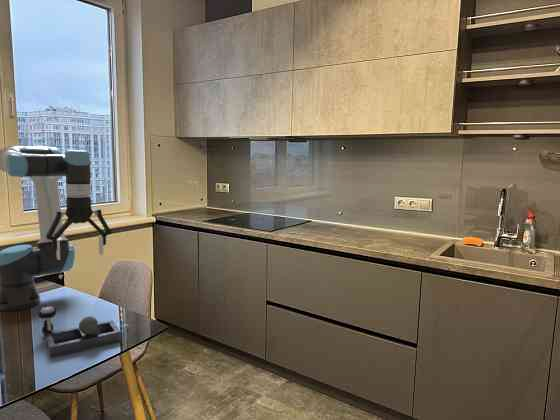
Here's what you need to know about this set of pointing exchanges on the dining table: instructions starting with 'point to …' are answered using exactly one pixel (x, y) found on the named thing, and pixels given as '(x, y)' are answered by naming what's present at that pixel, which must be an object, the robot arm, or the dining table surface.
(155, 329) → the dining table surface
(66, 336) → the rectangular frame
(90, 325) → the light bulb
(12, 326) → the dining table surface
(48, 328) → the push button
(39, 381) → the dining table surface
